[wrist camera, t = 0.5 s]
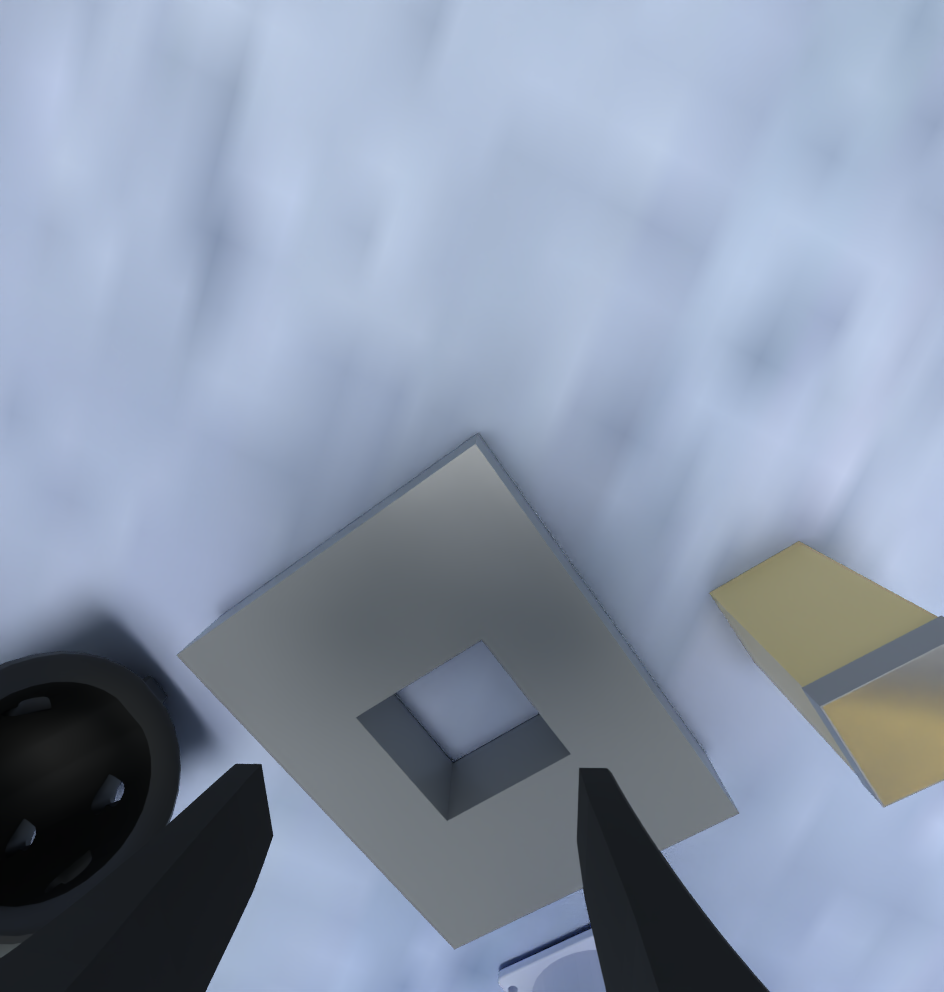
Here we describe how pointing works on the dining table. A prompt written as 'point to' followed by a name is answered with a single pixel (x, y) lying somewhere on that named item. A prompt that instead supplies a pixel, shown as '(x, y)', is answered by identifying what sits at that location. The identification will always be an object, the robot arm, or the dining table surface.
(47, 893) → the muzzle brake
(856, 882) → the dining table surface
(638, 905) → the robot arm
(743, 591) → the plug
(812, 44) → the dining table surface
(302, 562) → the socket plate
